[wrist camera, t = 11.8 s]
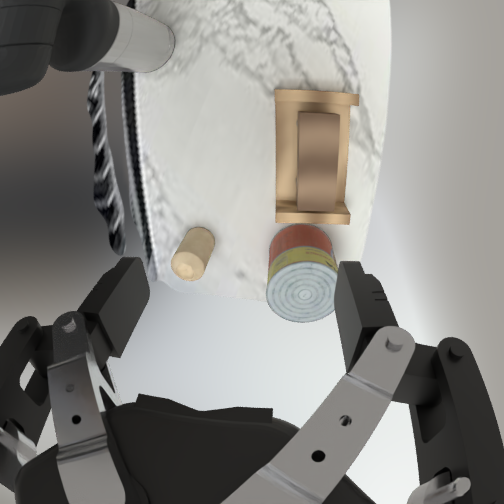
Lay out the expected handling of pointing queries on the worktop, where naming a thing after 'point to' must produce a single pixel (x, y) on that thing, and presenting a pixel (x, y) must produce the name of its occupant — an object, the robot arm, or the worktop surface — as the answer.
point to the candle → (193, 254)
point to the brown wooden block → (317, 160)
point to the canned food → (301, 274)
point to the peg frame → (287, 152)
